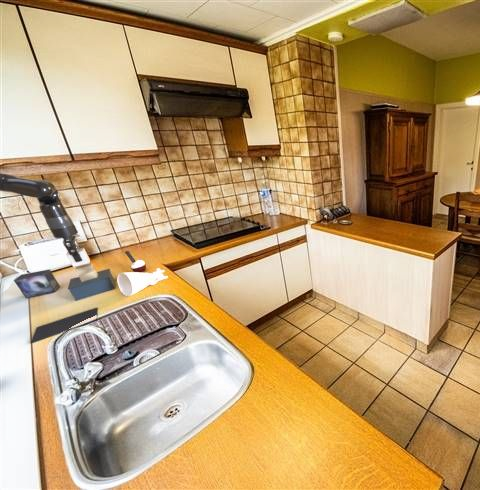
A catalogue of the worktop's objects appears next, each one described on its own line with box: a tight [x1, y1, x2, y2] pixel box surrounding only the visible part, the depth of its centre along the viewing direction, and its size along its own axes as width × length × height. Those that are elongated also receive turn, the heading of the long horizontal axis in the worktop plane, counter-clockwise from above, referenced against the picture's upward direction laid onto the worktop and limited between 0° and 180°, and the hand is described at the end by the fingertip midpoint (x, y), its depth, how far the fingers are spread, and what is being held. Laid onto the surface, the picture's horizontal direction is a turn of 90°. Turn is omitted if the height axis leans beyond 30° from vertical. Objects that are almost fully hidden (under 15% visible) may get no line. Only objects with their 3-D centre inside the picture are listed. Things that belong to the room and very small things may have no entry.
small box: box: [13, 268, 61, 299], centre depth 130 cm, size 11×6×10 cm, turn 118°
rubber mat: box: [30, 307, 99, 344], centre depth 107 cm, size 18×12×1 cm, turn 132°
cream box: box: [74, 262, 98, 282], centre depth 128 cm, size 6×5×6 cm
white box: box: [66, 247, 91, 268], centre depth 124 cm, size 6×5×6 cm
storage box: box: [67, 268, 116, 302], centre depth 130 cm, size 14×12×7 cm
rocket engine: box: [116, 268, 169, 297], centre depth 132 cm, size 12×12×18 cm
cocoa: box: [124, 250, 147, 273], centre depth 146 cm, size 10×6×12 cm, turn 44°
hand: (79, 259), depth 125 cm, fingers closed on white box, 5 cm apart
